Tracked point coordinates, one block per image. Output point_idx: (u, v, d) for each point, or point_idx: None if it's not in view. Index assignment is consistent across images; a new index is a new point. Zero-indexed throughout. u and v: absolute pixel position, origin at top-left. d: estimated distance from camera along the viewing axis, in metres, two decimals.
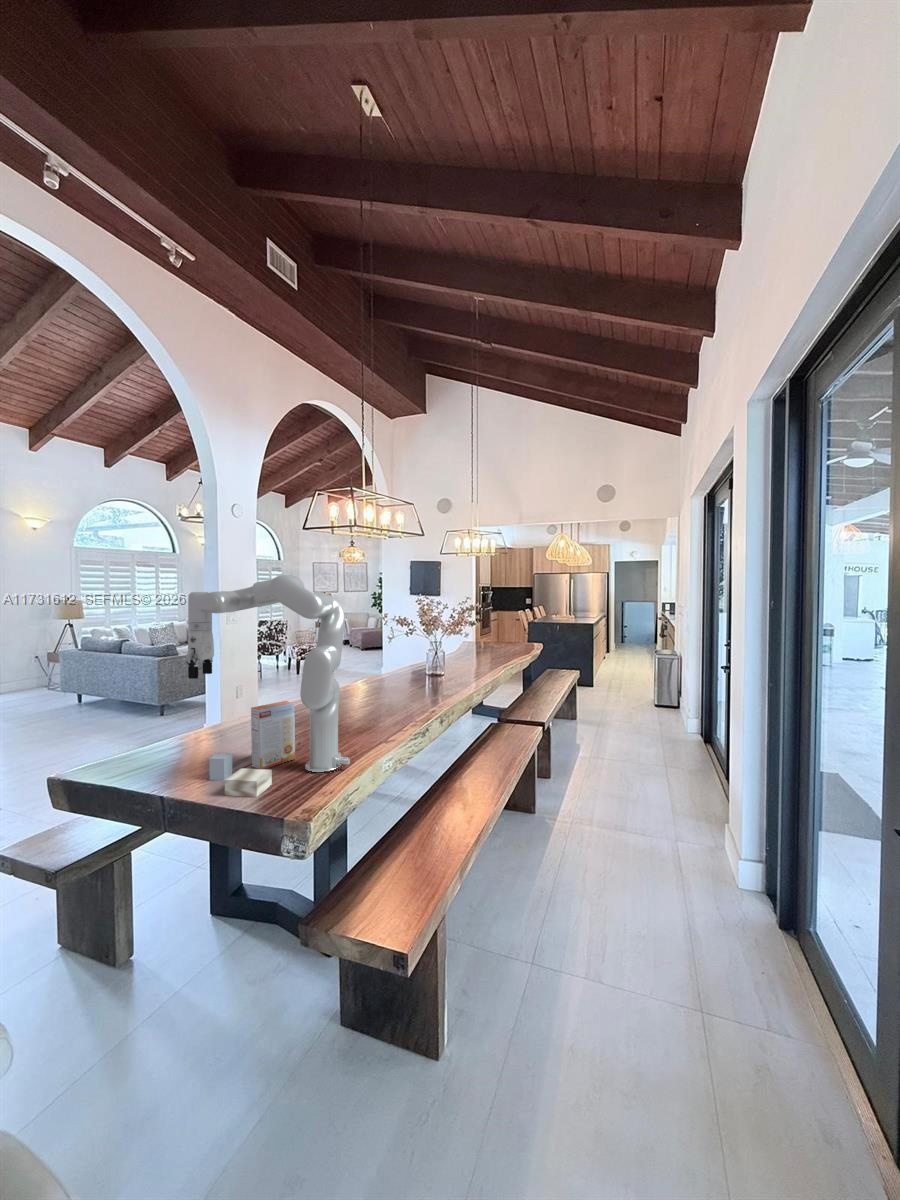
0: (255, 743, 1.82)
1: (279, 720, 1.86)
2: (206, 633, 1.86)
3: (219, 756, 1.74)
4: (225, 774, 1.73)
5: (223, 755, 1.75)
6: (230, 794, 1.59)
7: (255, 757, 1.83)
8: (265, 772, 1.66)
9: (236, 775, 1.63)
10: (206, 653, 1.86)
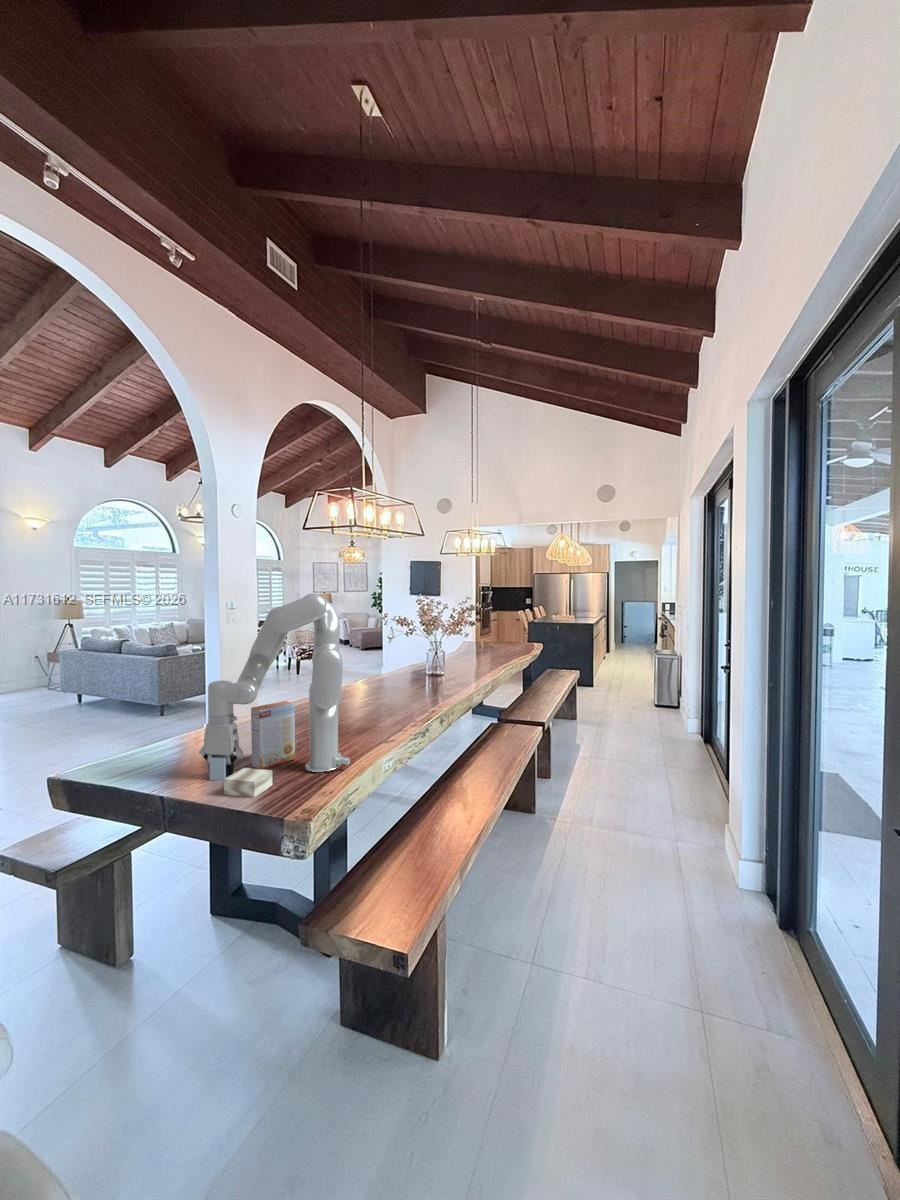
0: (255, 743, 1.82)
1: (279, 720, 1.86)
2: None
3: (219, 756, 1.74)
4: (225, 774, 1.73)
5: (223, 755, 1.75)
6: (229, 794, 1.60)
7: (255, 757, 1.83)
8: (265, 772, 1.66)
9: (236, 775, 1.63)
10: None
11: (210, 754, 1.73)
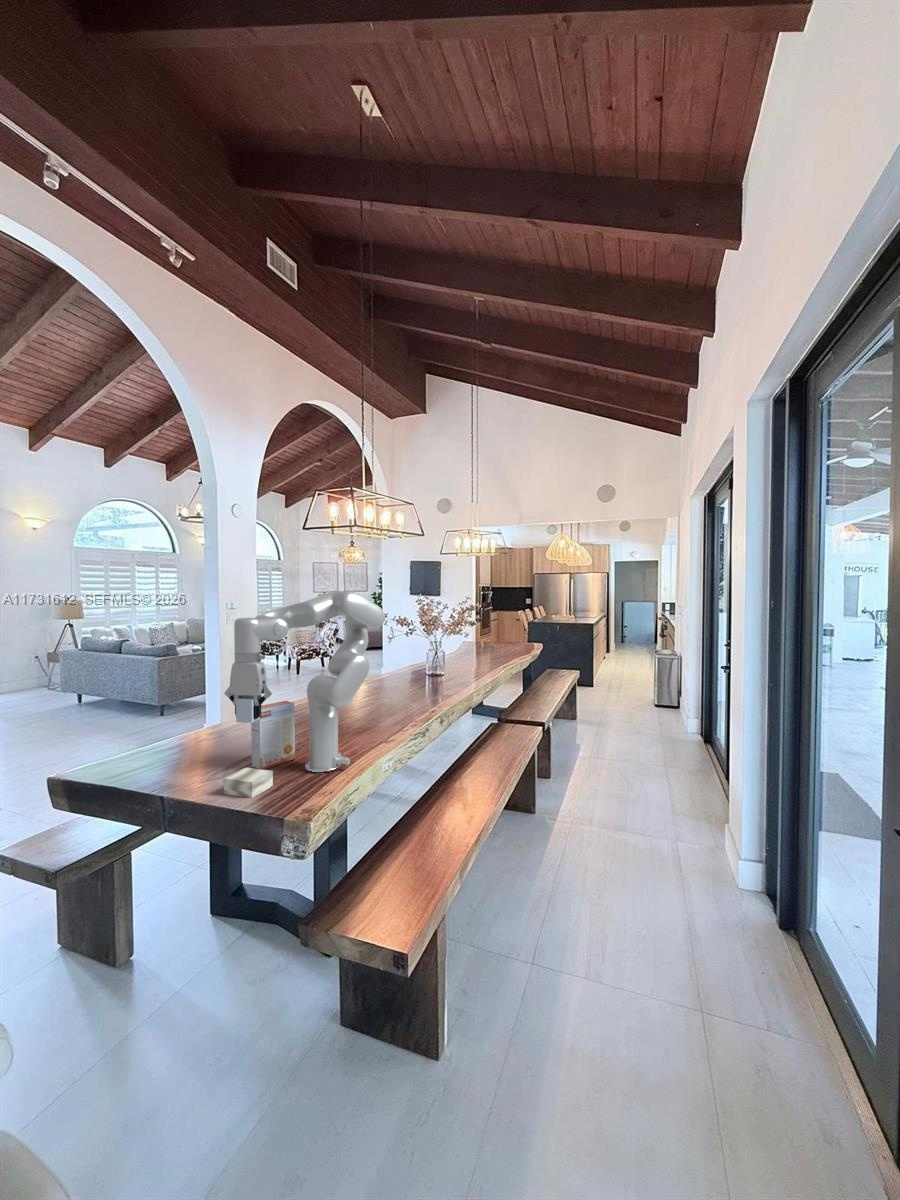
0: (255, 743, 1.82)
1: (279, 720, 1.86)
2: None
3: (245, 697, 1.63)
4: (253, 716, 1.62)
5: (250, 697, 1.64)
6: (228, 793, 1.60)
7: (255, 757, 1.83)
8: (265, 773, 1.65)
9: (237, 774, 1.64)
10: None
11: (237, 695, 1.62)
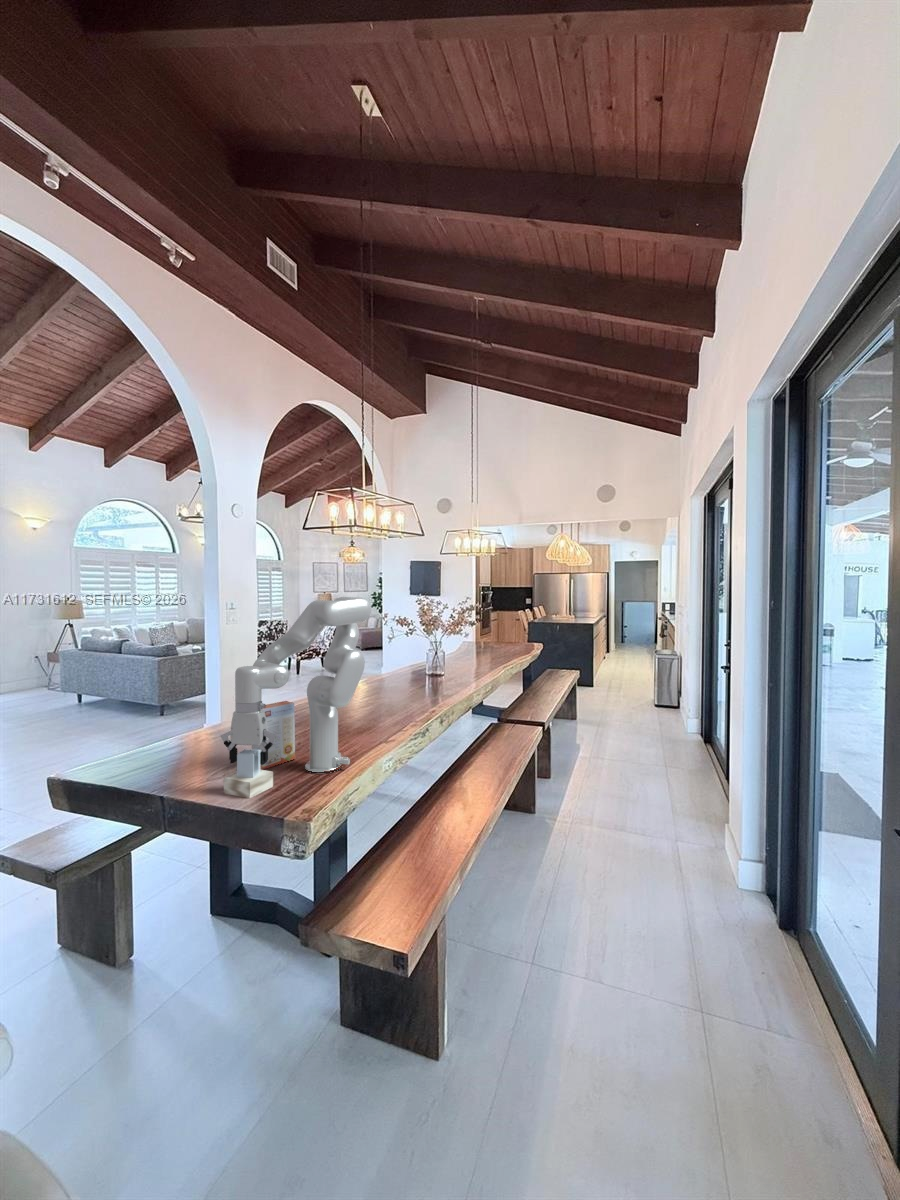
0: None
1: (279, 720, 1.86)
2: None
3: (246, 752, 1.64)
4: (254, 771, 1.62)
5: (251, 751, 1.64)
6: (228, 793, 1.60)
7: None
8: (265, 773, 1.65)
9: None
10: None
11: (237, 744, 1.62)
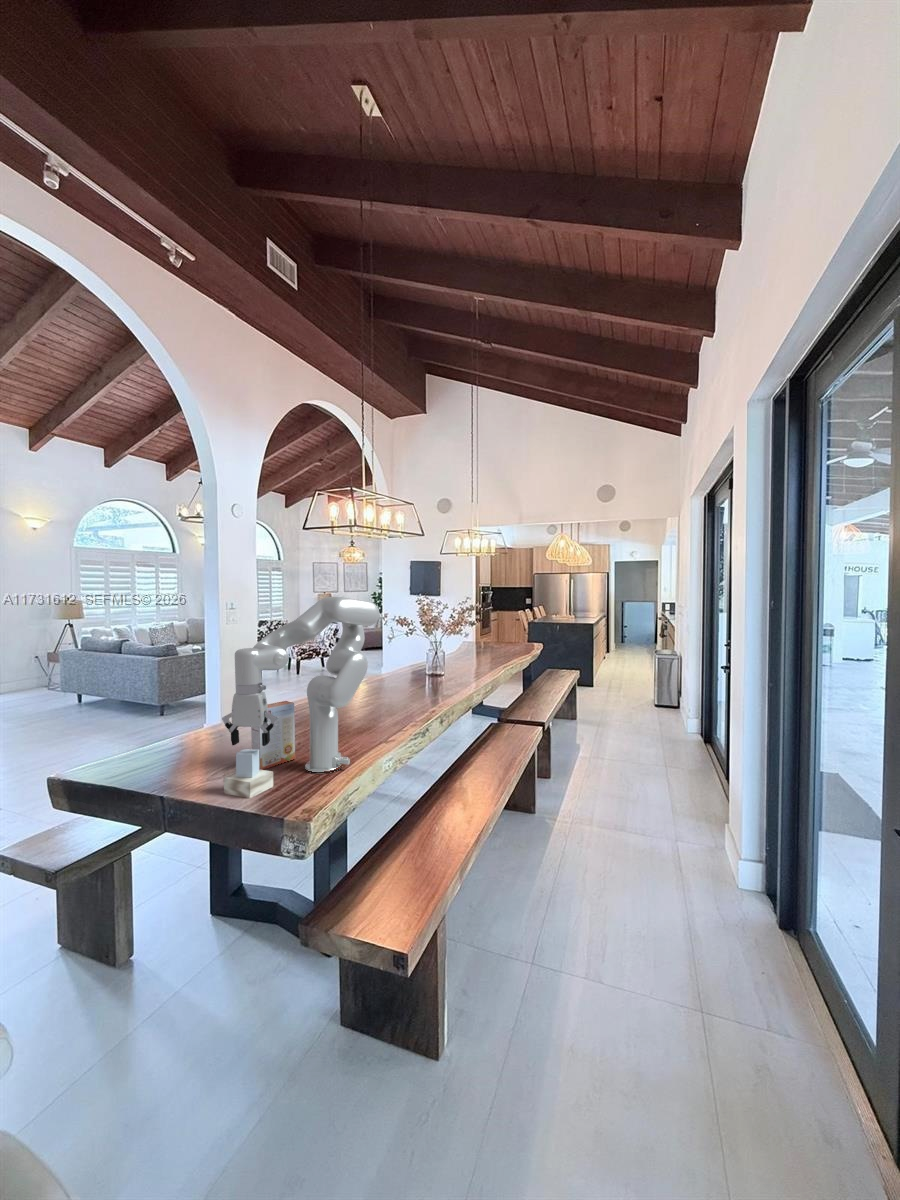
0: (255, 743, 1.82)
1: (279, 720, 1.86)
2: None
3: (245, 751, 1.64)
4: (253, 771, 1.62)
5: (250, 751, 1.64)
6: (228, 793, 1.60)
7: None
8: (265, 773, 1.65)
9: None
10: None
11: (239, 726, 1.62)
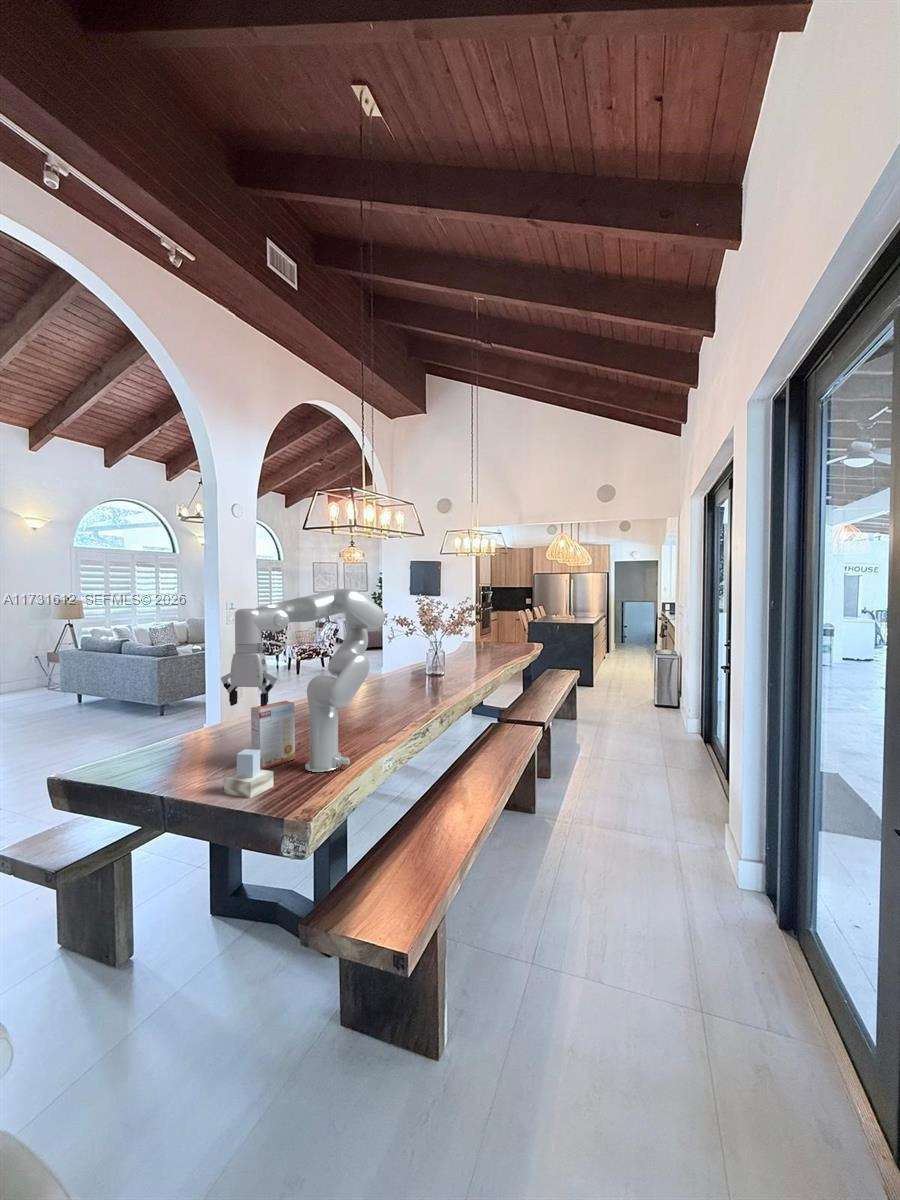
0: (255, 743, 1.82)
1: (279, 720, 1.86)
2: None
3: (246, 752, 1.63)
4: (254, 771, 1.62)
5: (251, 751, 1.64)
6: (228, 793, 1.60)
7: None
8: (265, 773, 1.65)
9: None
10: None
11: (237, 686, 1.62)
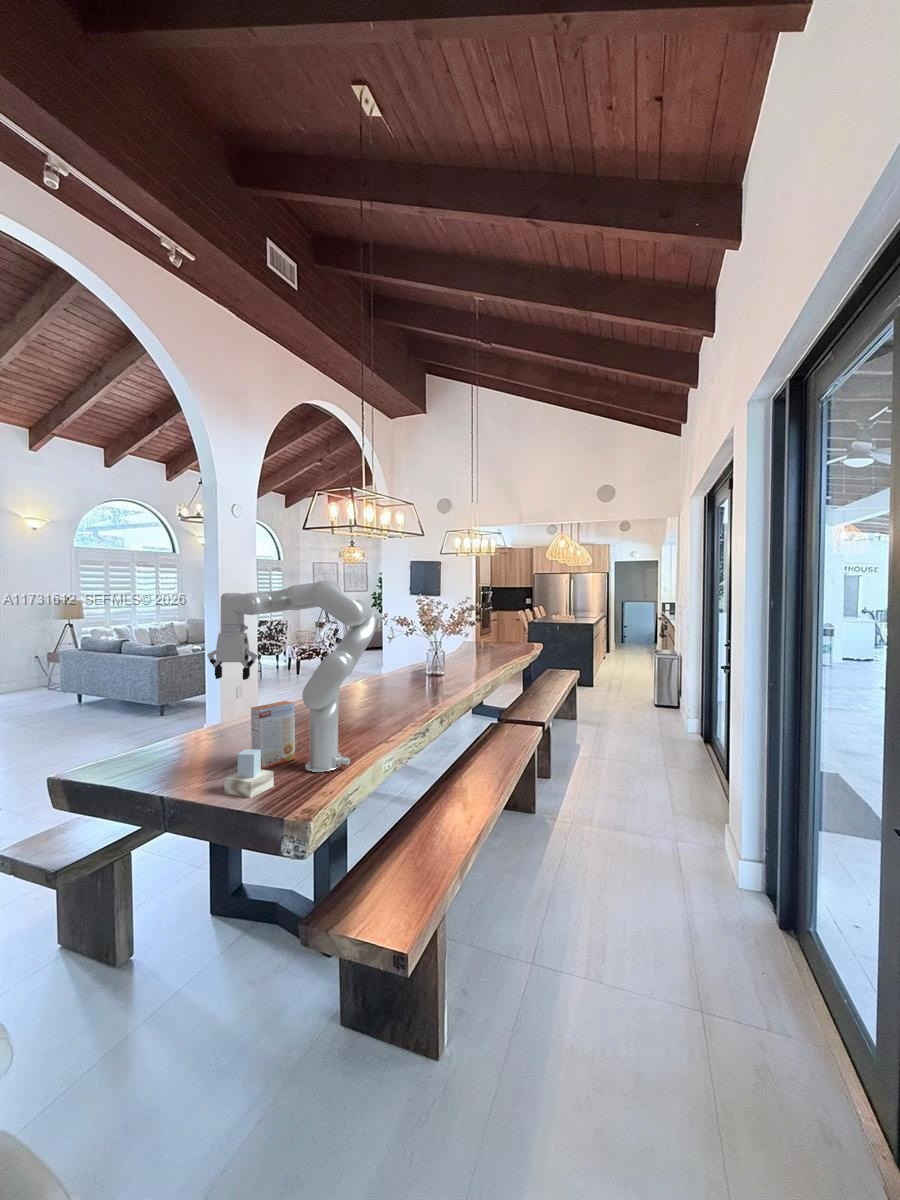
0: (255, 743, 1.82)
1: (279, 720, 1.86)
2: None
3: (247, 751, 1.64)
4: (255, 771, 1.62)
5: (251, 751, 1.64)
6: (229, 793, 1.61)
7: None
8: (266, 773, 1.65)
9: (237, 774, 1.64)
10: None
11: (222, 661, 1.82)
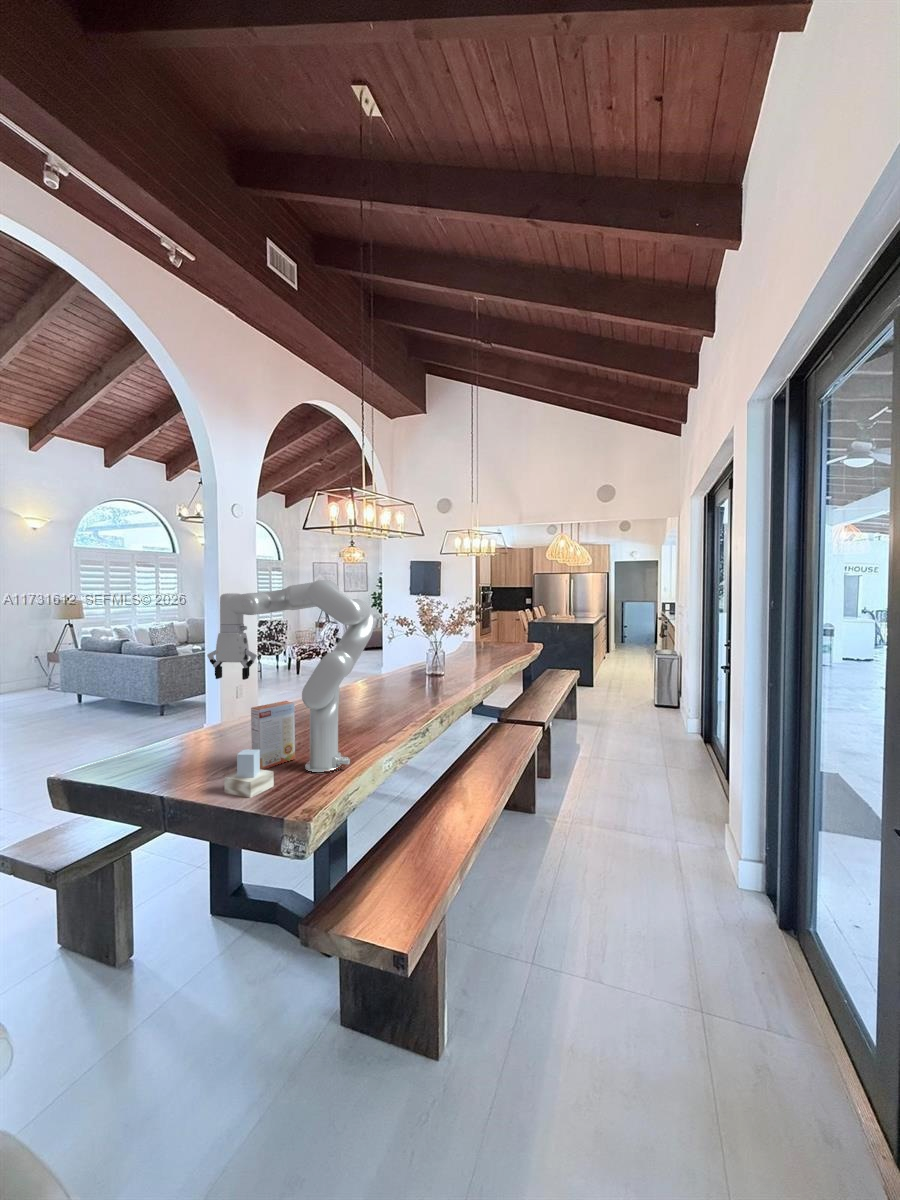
0: (255, 743, 1.82)
1: (279, 720, 1.86)
2: None
3: (246, 752, 1.64)
4: (254, 771, 1.62)
5: (250, 751, 1.64)
6: (229, 792, 1.61)
7: None
8: (266, 773, 1.65)
9: None
10: None
11: (222, 661, 1.83)
